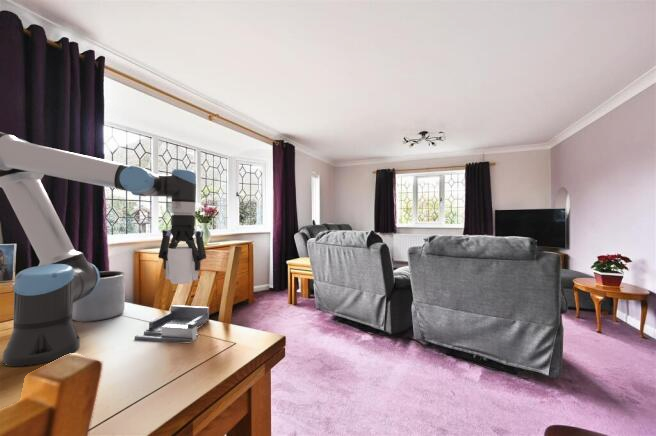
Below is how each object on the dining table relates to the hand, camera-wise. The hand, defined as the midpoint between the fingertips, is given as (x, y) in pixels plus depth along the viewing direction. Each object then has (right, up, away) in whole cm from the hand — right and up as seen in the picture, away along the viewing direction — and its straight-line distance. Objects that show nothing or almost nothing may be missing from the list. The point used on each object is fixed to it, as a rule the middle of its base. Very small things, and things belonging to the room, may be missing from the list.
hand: (181, 279), depth 103 cm
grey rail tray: (0, -16, -1) cm, 16 cm away
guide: (+1, -16, -10) cm, 19 cm away
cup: (0, -1, 0) cm, 1 cm away
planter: (-36, -16, +9) cm, 40 cm away
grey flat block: (+5, -16, -11) cm, 20 cm away
